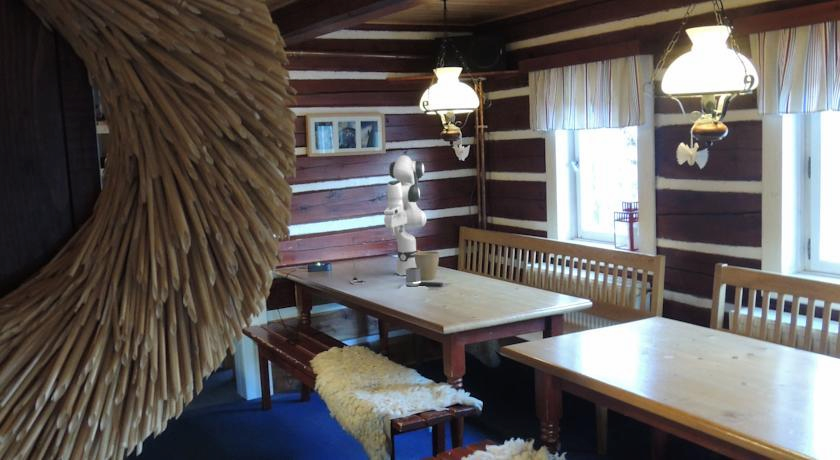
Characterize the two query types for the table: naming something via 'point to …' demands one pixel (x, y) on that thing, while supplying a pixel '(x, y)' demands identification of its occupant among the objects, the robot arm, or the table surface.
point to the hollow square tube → (413, 275)
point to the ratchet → (424, 284)
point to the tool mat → (439, 287)
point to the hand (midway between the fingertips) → (397, 233)
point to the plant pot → (427, 264)
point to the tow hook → (354, 271)
